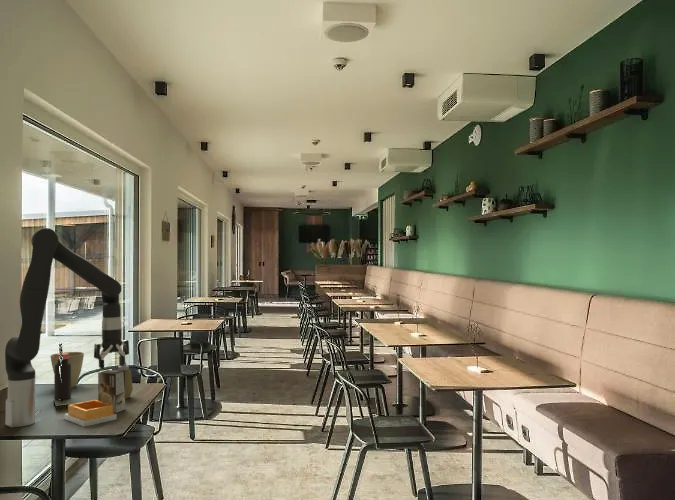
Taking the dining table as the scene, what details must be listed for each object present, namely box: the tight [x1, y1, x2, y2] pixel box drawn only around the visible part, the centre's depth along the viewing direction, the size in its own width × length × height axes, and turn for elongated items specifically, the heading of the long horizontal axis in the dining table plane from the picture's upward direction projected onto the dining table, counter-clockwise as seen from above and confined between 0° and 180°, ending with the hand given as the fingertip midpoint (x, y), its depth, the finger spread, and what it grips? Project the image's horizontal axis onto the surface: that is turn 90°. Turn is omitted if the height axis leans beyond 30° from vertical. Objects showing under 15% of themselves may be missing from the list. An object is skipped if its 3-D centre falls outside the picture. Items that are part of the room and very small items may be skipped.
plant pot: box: [50, 351, 85, 389], centre depth 282 cm, size 15×15×16 cm
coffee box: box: [97, 369, 126, 414], centre depth 238 cm, size 9×6×16 cm
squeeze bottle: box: [117, 360, 134, 400], centre depth 259 cm, size 8×8×18 cm
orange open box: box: [63, 399, 118, 428], centre depth 225 cm, size 13×16×6 cm
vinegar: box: [53, 352, 72, 401], centre depth 258 cm, size 7×7×20 cm
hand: (111, 367), depth 238 cm, fingers open, 8 cm apart
